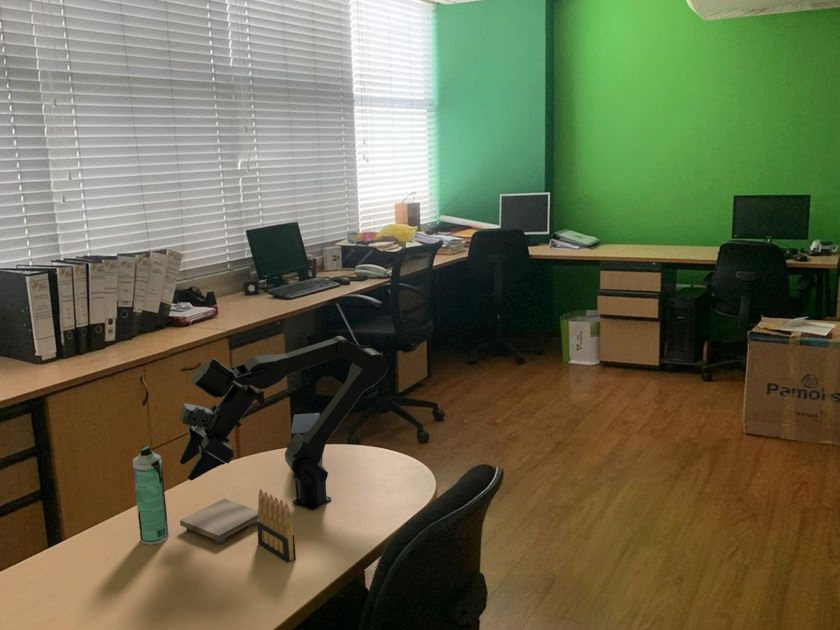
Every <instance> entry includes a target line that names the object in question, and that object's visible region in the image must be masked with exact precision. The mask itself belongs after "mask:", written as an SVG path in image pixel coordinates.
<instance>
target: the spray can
mask: <svg viewBox="0 0 840 630" xmlns="http://www.w3.org/2000/svg"><path fill="white" fill-rule="evenodd" d="M132 467H133V468H132V470H133V477H134V488H135V498H136V499H135V500H136V508H137V518H138V526H139V536H140V541H141V542H140V543H141V544H143V543H144V544H143V545H145V544H148V545H147V546H154V545H155V544H156V545H158V544H159V545H160V544H163V543H164V542H166V541H167V540H168V539H169V534H170V533H169V524H168V515H167V514H168V513H167V504H166V494H165V481H164V474H163V473H164V472H163V462H162V458H161V455H160V454H157V453H154V451H153V450H151V446H149V445H146V446H142V447H141V449H140V452H139V454H138V455H137V456H135V457H134V458H133V459H132ZM153 544H154V545H153Z"/></svg>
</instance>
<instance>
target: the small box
mask: <svg viewBox="0 0 840 630" xmlns="http://www.w3.org/2000/svg"><path fill="white" fill-rule="evenodd" d="M320 415H321V413H320V412H315V413H301V414H300V413H299V414H293V418H292V426H291V430H290V431H291V432H290V438H291V439H290V442H291V441H292V439H293V437H294V435H295V434H296V433H297V432H298V433H299V434H300V435H303V434H305V433H306V432H308V431H309V430H310V429H311V428H312V426H313V425H314V424H315V422H316V421H317V420H318V418H319V417H320ZM320 463H321V465H322V466H323V458H322V459H321V461H320ZM293 478H294V479H296V475H295V474H294V473H293Z"/></svg>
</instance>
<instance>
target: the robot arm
mask: <svg viewBox="0 0 840 630" xmlns="http://www.w3.org/2000/svg"><path fill="white" fill-rule="evenodd" d="M339 358H343V359H345V360H346V361H348V362H351V364H350V367H349V370H348V375H347V378H346V379H345V381H344V383H343V384H342V386H341V387H340V388H339V389H338V391H337V393H336V394H335V395H334V396H333V398H332V399H331V401H330V402H329V403H328V404H327V406H325V407H326V408H325V409H324V410H323V412H321V413H320V417H319V418H318V420H317V421H316V422H315V424H314V425H313V426H312V428H311V429H310V430H309V431H308V432H306V433H305V434H303V435H300V434H299V433H298V432H297V433H296V434H295V435H294V437H293V439H292V441H291V440H290V442H288V443H287V444H286V445H285V447H286V449H285V452H284V458H285V459H284V460H285V462H286V464H287V465H288V467H289V468H290V470H291V471H292V473H293V475H294V474H295V475H296V478H295V481H294V488H295V499H293V500H291V503H292V505H295V506H299V507H301V508H304V509H307V510H310V511H314V510H316V509H318V508H320V507H322V506H323V505H325V504H327V503H329V502H331V501H332V497H331V496H328V495H327V483H326V482H327V479H328V475H329V472H328V471H327V469H325V467H324V465H323V464H322V465H321V463H320V461H321V459H322V460H323V456H324V452H325V447H326V445H327V443H328V441H329V440H330V439H331V437H332V436H333V435H334V433H335V432H336V430H337V429H338V427H339V426H340V424H342V422H343V421H344V419H346V417H347V415H348V414H349V412H350V411H351V410H352V409H353V408H354V406H355V404H356V403H357V402H358V400H359V399H360V397H361V396H362V395H363V394H364V393H365V392H366V391H367V390H369V389H370V388H373V387H375V385H377V384H378V383H379V382H380V381H381V380H382V378H383V377H385V376H386V374H387V372H388V371H389V362H388V360H387V358H386V357H385V356H384V355H382V354H381V353H380V352H378V351H377V350H375V349H373V348H372V347H371V348H370V347H366V348H362V347H360V346H359V345H356V344H355V343H353V342H351V341H349V340H348V339H346V338H345V337H344V336H341V335H337V336H334V337H333V338H330V339H327V340H324V341H321V342H318V343H317V342H316V343H314V344H311V345H309V346H305V347H302V348H299V349H295V350H292V351H288V352H285V353H281V354H279V353H278V354H271V353H270V354H262V355H255V356H253V357H250V358H248V359H247V360H246V362H245V363H242V364H241V363H240V364H238V365H236V366H233V367H232V366H231V367H230V368H228V367H227V366H225V365H224V364H222V363H220V361H219V360H218V359H216V358H215V357H211V358H210V359H208V361H206V362H204V363H203V364H202V365H201V366H199V367H198V369H197V370H196V371H195V373H194V375H193V377H192V379H191V384H192V386H195V387H196V388H198V389H199V390H201V391H202V392H203V393H205V394H206V395H208V396H210V397H211V398H213V399H217V398H219V399H221V398H222V399H221V400H220V401H219V402H218V404H217V403H214V404H212V405H211V406H210V407H209V408H208V407H204V406H200V405H197V404H196V405H195V404H190V403H183V405H182V408H181V411H180V414H179V417H178V419H180V420H181V423H182V424H183V425H186V426H187V431H188V439H187V442H186V444H185V447H184V450H183V451H182V455H181V456H180V459H179V464H182V465H185V464H187V463H189V462H190V461H191V460H192V459H193V458H194V457H196V456H197V455H198V457H197V458H196V461H195V463H194V464H193V466H192V468H191V469H190V472H189V473H188V476H187V479H188V480H190V481H194V480H195V479H197V478H200V477H201V476H203V475H204V474H206V473H208V472H210V471H212V470H214V469H216V468H217V467H219V466H221V465H223V466H224V465H225V464H230V463H231V461H232V460H233V458H234V457H235V454H234V449H233V448H232V446H231V445H230V444H229V442H230V441H231V440H230V438H229V436H230V435H231V433H232V432H233V431H234V430H235V428H237V427H238V428H240V427H241V426H242V422H241V420H242V419H243V417H244V416H245V415H246V413H247V412H248V410H250V408H251V407H252V405H253V404H254V403H255V402H256V401H257V402H258V403H260V405H265V404H266V401H265V400H266V399H265V391H264V390H265V389H268V388H270V387H272V386H274V385H276V384H278V383H280V382H281V381H282V380H284V379H285V378H286V377H288V376H290V375H291V374H293V373H297V372H300V371H302V370H303V371H304V370H305V369H309V368H312V367H314V366H319V365H321V364H324V363H327V362H331V361H333V360H336V359H339ZM251 386H253V387H251Z"/></svg>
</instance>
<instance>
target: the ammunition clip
mask: <svg viewBox="0 0 840 630" xmlns="http://www.w3.org/2000/svg"><path fill="white" fill-rule="evenodd" d="M257 500H258V501H257V502H258V503H257V505H258V507H257V508H258V509H257V510H258V519H259V520H258V521H257V525H256V526H257V529H256V530H257V545H259V546H260V547H261V548H263V549H265V550H267V551H269V552H270V553H271V554H273V555H274V556H276V557H277V558H279V559H280V560H282V561H284V562H286V563H287V564H289V563H291V562H294V561H295V560H297V554H296V543H295V540H296V539H295V535H294V534H293V524H292V519H291V511H290V506H289V504H288V503H287V502H285V504H284V502H283V500H282V499H280V500H278V498H277V497H274V496H273V495H272V494H270V495H269V494H268V493H267V491H265V492H263V490H262V489H261V488H260V489H259V492H258V499H257Z"/></svg>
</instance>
